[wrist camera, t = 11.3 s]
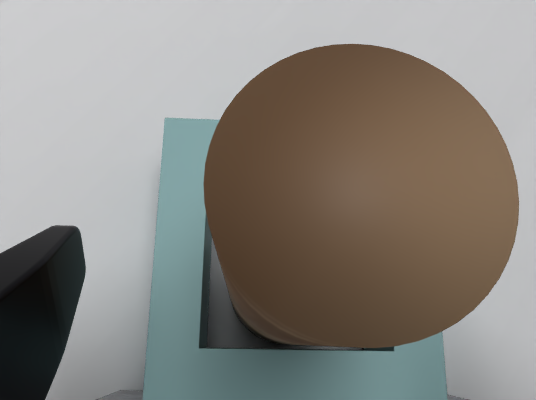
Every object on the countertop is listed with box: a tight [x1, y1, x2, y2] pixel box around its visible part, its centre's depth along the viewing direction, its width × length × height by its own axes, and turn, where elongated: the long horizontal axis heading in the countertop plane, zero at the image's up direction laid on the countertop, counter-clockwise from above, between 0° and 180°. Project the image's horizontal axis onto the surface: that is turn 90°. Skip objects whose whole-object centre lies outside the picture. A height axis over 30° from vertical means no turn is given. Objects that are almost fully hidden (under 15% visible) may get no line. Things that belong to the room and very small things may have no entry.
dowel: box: [203, 44, 519, 348], centre depth 12 cm, size 4×4×12 cm
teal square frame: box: [143, 118, 448, 400], centre depth 16 cm, size 8×8×4 cm
